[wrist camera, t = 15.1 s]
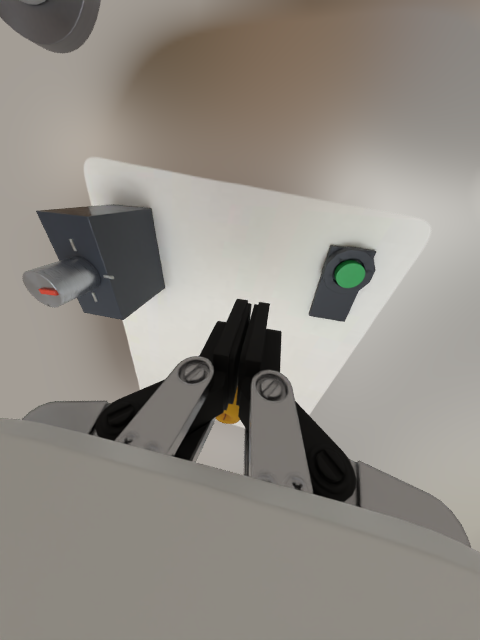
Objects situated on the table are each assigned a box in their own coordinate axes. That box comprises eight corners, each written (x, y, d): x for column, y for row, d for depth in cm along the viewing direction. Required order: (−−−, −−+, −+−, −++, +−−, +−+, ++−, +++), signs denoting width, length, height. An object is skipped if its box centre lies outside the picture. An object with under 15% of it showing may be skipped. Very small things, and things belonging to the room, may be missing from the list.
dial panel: (108, 203, 32) (28, 210, 22) (155, 208, 31) (92, 217, 21) (130, 282, 40) (78, 312, 30) (168, 288, 39) (127, 321, 29)
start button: (339, 258, 27) (341, 261, 26) (366, 261, 27) (370, 265, 26) (330, 282, 29) (332, 286, 28) (355, 285, 29) (358, 290, 28)
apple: (230, 373, 49) (220, 404, 42) (255, 391, 51) (249, 423, 44) (212, 386, 54) (201, 416, 47) (236, 402, 56) (228, 433, 49)
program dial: (78, 286, 27) (35, 306, 23) (63, 255, 25) (10, 270, 20) (105, 289, 27) (65, 311, 22) (92, 257, 24) (44, 273, 19)
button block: (329, 243, 28) (332, 247, 26) (376, 248, 27) (383, 253, 25) (307, 313, 35) (308, 320, 33) (344, 319, 34) (348, 327, 32)
